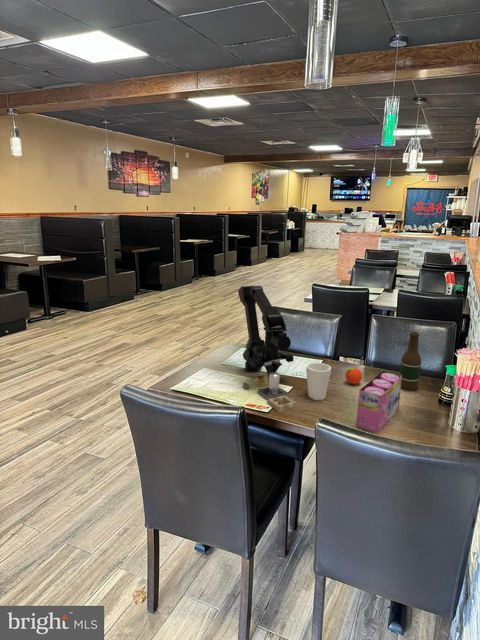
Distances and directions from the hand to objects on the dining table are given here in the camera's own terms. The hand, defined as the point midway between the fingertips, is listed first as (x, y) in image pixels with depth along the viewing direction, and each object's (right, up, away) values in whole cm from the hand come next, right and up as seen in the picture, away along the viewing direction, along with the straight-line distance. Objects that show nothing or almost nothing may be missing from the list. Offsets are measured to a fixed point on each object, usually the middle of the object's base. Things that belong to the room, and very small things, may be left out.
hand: (270, 378), depth 179 cm
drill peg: (0, -5, -11) cm, 12 cm away
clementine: (+35, -3, +5) cm, 35 cm away
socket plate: (-3, -5, -7) cm, 9 cm away
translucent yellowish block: (-4, -2, -2) cm, 5 cm away
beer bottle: (+58, -4, +1) cm, 58 cm away
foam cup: (+17, -6, -10) cm, 21 cm away
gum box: (+37, -11, -25) cm, 46 cm away
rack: (+3, -8, -19) cm, 21 cm away
